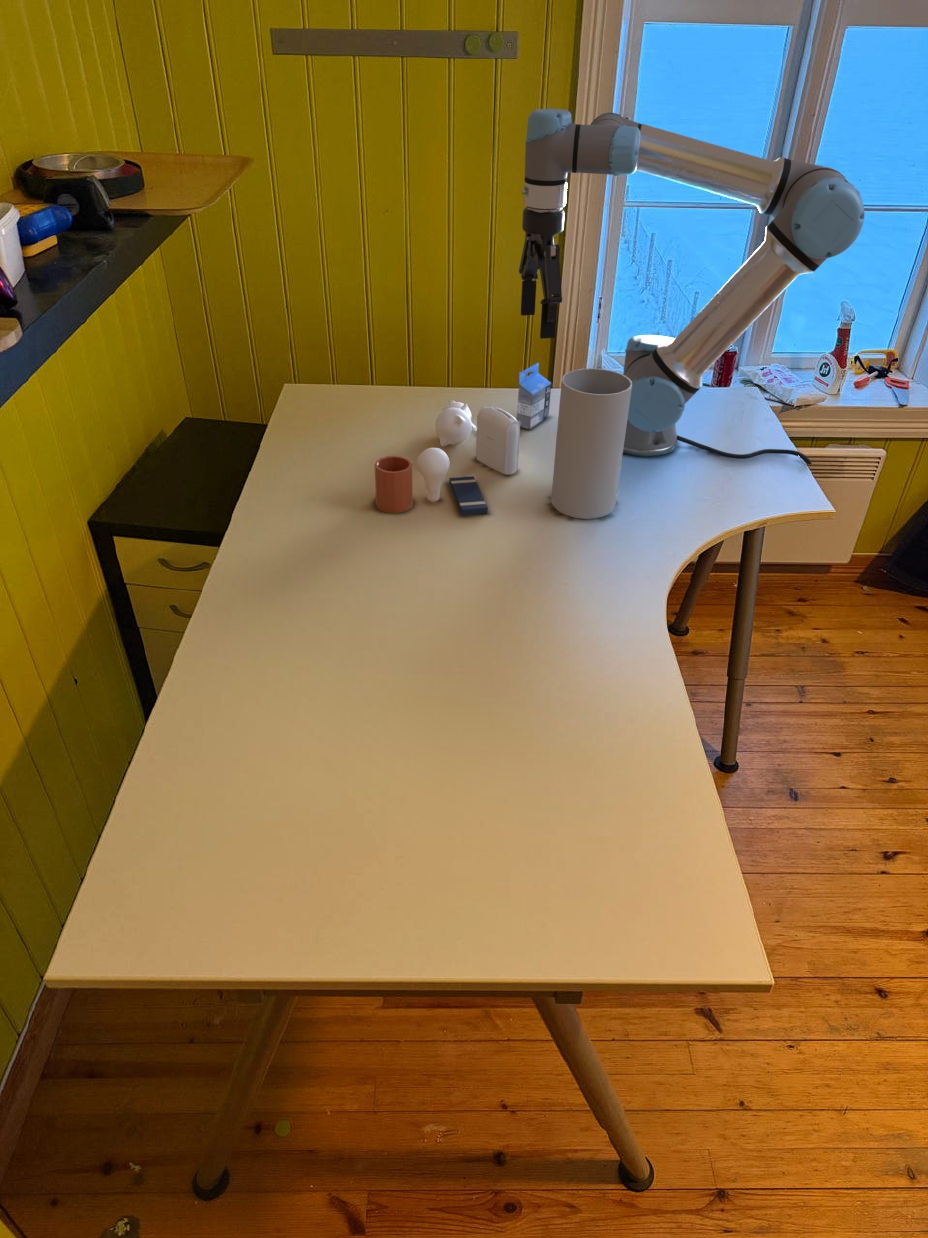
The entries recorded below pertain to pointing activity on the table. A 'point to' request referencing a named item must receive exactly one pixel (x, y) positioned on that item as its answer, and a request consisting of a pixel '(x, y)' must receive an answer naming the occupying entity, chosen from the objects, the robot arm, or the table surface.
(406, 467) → the pot
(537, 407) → the ink cartridge box
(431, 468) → the lightbulb
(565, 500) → the cylinder vase
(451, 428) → the cat figurine
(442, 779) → the table surface
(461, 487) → the towel
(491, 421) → the photo printer
